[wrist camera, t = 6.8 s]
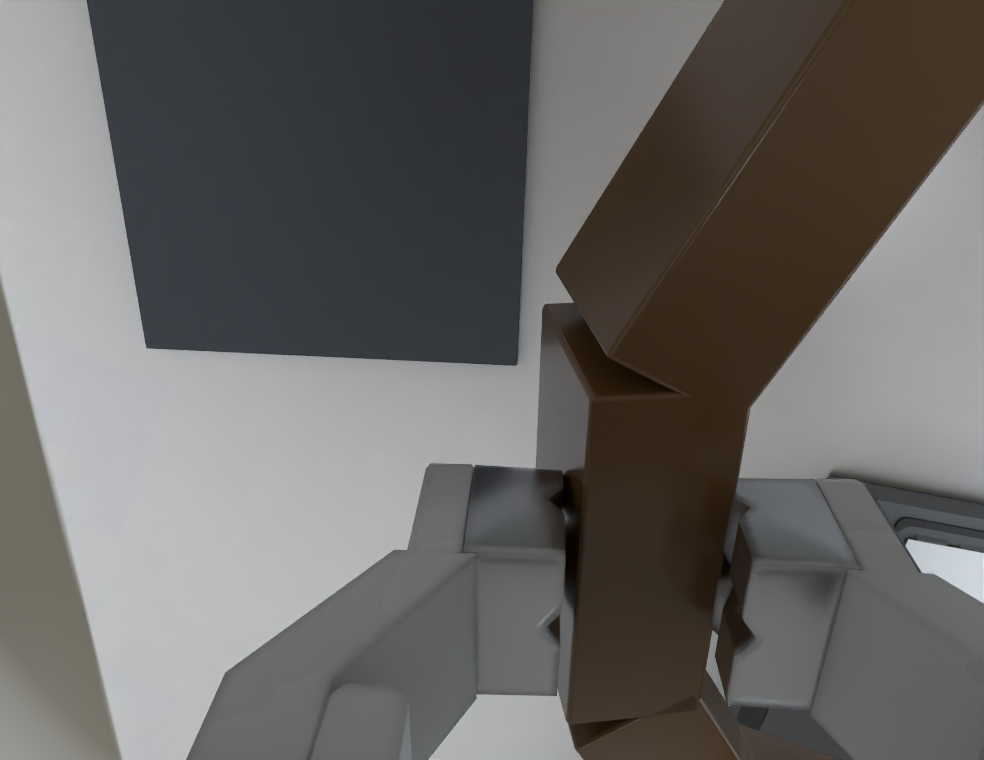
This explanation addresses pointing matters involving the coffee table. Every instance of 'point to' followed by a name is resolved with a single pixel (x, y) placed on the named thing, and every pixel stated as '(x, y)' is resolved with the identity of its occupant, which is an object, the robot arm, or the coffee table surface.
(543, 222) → the coffee table surface
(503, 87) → the mat
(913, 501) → the laptop
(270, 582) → the coffee table surface
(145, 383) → the coffee table surface
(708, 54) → the hoop
